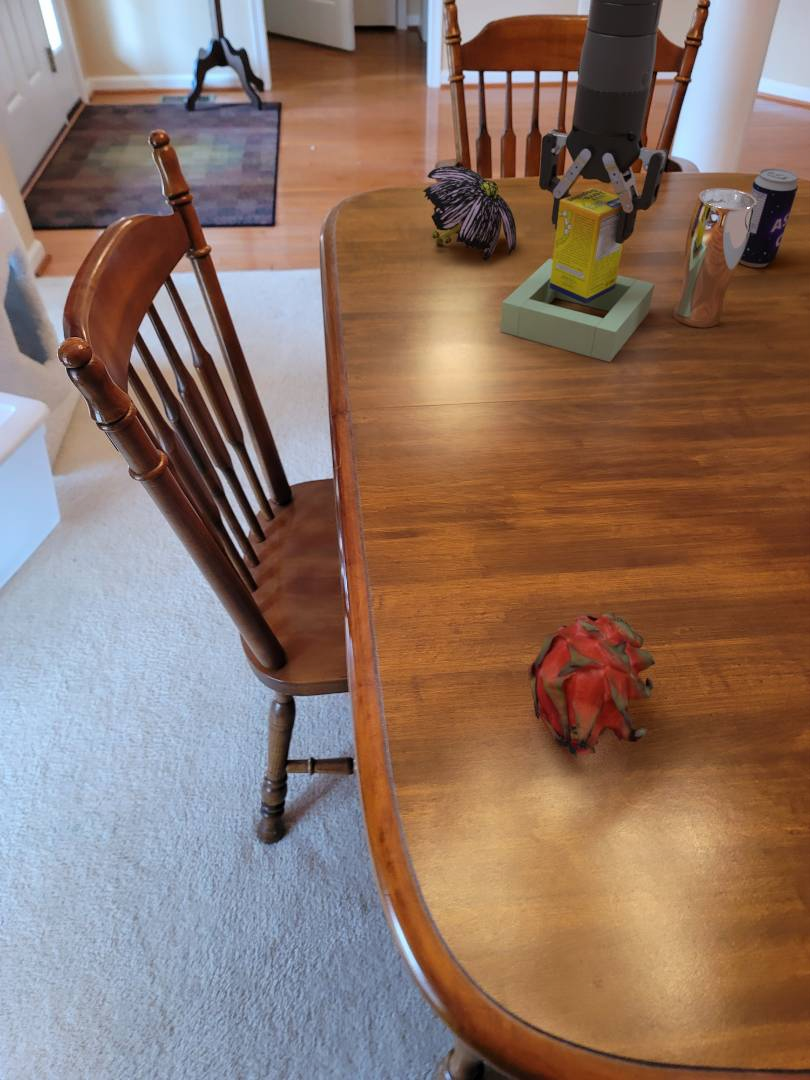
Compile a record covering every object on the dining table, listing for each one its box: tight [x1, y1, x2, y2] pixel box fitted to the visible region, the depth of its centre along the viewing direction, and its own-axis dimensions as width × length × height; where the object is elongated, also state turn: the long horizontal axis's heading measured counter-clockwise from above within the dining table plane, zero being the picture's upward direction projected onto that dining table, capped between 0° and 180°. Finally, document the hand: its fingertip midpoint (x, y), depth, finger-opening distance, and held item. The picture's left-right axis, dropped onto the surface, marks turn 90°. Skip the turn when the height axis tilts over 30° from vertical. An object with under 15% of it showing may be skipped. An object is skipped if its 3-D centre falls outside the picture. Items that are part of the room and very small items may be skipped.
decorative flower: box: [422, 165, 517, 262], centre depth 119 cm, size 15×12×15 cm
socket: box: [499, 258, 656, 363], centre depth 104 cm, size 14×14×4 cm
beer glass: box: [672, 187, 757, 329], centre depth 102 cm, size 7×7×15 cm
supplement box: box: [550, 187, 624, 304], centre depth 99 cm, size 6×6×11 cm
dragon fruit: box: [527, 612, 656, 758], centre depth 59 cm, size 8×8×12 cm
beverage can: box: [739, 167, 799, 268], centre depth 115 cm, size 6×6×12 cm
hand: (590, 234), depth 98 cm, fingers closed on supplement box, 7 cm apart
